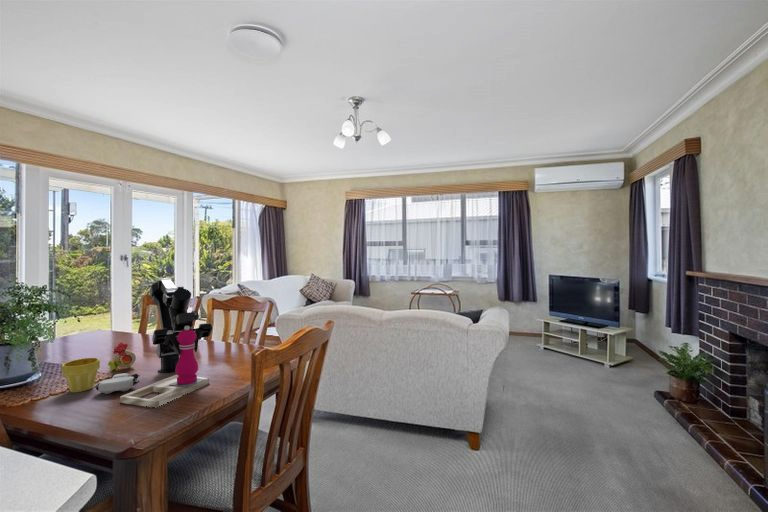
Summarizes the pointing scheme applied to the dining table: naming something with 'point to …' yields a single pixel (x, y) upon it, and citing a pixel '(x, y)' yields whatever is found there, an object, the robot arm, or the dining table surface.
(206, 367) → the dining table surface
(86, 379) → the plant pot
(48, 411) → the dining table surface
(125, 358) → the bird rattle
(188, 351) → the pepper mill
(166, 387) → the puzzle board
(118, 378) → the robot toy
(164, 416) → the dining table surface
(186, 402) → the dining table surface
